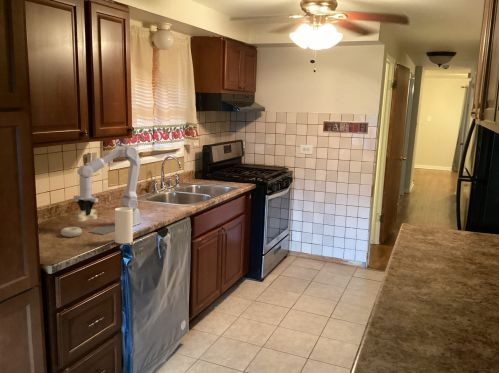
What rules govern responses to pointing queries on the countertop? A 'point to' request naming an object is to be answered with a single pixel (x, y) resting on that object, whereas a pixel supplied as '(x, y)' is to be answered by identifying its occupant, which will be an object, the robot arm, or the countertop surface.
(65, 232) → the donut
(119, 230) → the cup
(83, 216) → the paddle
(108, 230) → the mat
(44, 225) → the countertop surface
